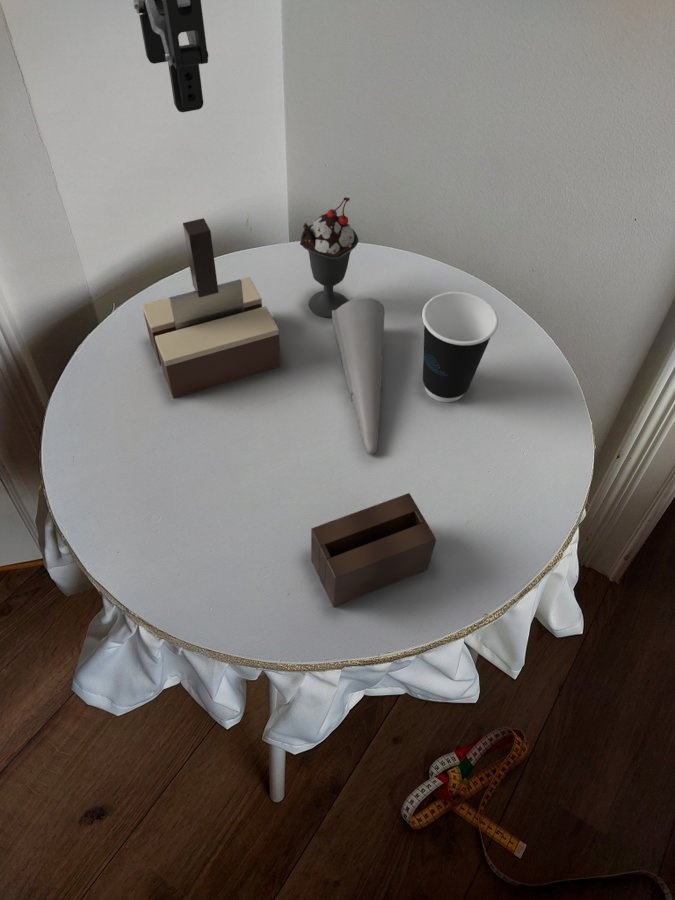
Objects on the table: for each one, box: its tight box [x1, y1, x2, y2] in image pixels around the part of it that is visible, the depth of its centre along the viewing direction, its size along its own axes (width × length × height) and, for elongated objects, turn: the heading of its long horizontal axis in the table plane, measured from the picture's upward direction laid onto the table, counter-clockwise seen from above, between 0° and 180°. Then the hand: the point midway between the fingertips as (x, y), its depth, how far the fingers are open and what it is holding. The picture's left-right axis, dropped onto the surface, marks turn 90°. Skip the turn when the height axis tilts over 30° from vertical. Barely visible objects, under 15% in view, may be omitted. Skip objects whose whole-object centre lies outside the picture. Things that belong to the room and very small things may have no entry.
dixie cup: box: [421, 291, 499, 403], centre depth 80 cm, size 8×8×11 cm
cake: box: [141, 276, 281, 399], centre depth 84 cm, size 13×10×6 cm
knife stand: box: [310, 492, 437, 608], centre depth 68 cm, size 10×5×6 cm, turn 114°
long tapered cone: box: [331, 297, 386, 456], centre depth 82 cm, size 6×6×19 cm
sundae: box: [299, 197, 359, 319], centre depth 86 cm, size 7×7×15 cm
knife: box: [168, 217, 244, 330], centre depth 79 cm, size 8×2×18 cm, turn 114°
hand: (174, 83), depth 61 cm, fingers open, 8 cm apart
